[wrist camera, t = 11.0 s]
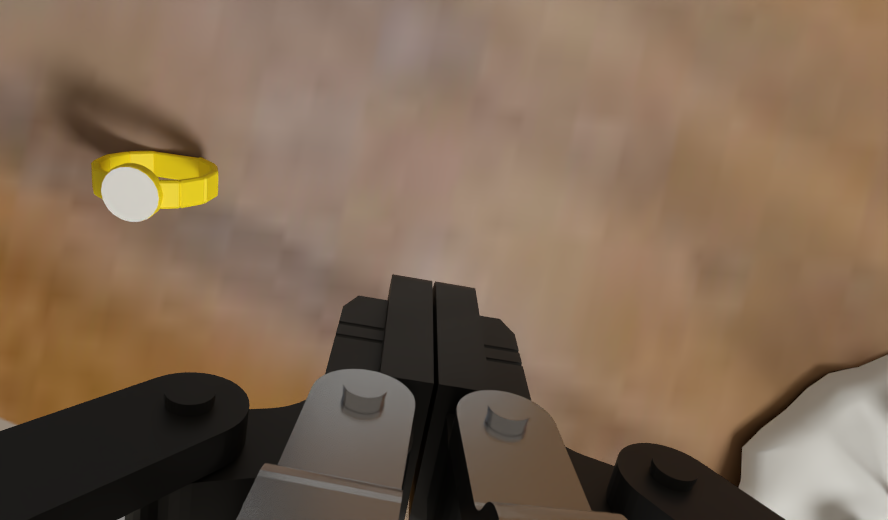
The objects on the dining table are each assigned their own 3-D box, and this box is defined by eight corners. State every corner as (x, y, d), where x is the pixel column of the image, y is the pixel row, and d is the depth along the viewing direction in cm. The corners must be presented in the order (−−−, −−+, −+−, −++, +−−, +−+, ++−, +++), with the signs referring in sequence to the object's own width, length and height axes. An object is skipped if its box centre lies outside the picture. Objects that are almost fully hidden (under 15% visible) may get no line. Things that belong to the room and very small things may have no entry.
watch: (231, 147, 38) (197, 174, 33) (229, 196, 39) (197, 230, 34) (119, 133, 38) (66, 158, 32) (120, 183, 39) (69, 215, 33)
